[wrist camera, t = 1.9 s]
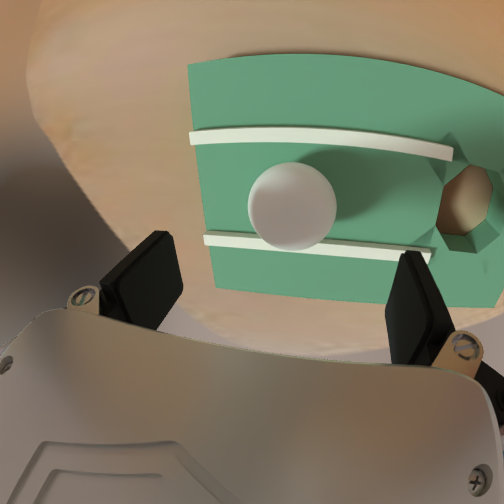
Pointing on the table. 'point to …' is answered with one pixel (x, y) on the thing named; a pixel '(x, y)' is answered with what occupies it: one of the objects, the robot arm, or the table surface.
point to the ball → (292, 206)
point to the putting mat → (348, 172)
